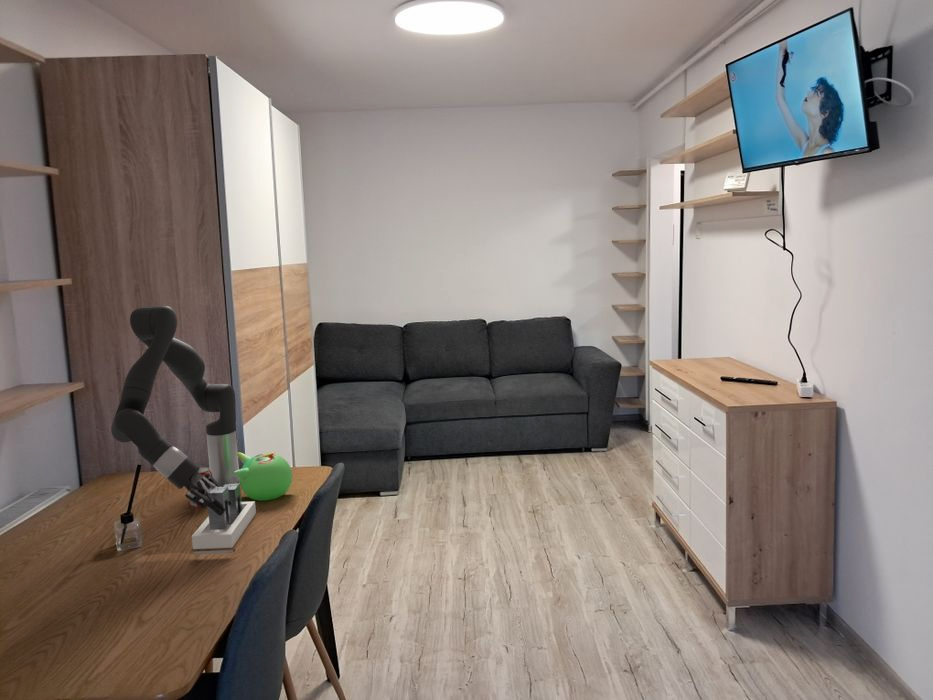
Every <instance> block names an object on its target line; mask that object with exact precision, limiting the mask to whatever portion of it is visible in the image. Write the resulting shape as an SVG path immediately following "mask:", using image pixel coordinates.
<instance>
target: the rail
mask: <svg viewBox="0 0 933 700" xmlns="http://www.w3.org/2000/svg"><path fill="white" fill-rule="evenodd" d="M241 503H242V512H241V513H240V514H239V516H238V517H237V518H236V520H235V521H234V522H233V524H227V528H226V529H222V530H210V524H209V515H208V516H207V517H206V519H204V521H203V522H202V524H201V525H199V527H198V528H196V531H195V532H194V533H193V534H192V535H191V545H192V550H197V551H193V552H192V555H194V554H195V555H216V554H233V553H234V551H235V549H229V548H233V547H234V546H235V545H236V543H237V541H238V540H239V539H240V537H241V536H242V534H243V533H244V532H245V530H246V528H247V527H248V525H249V524H250V523H251V521H252V520H253V518H254V517H255V515H256V514H257V510H256V509H257V508H256V500H253V501H241ZM208 549H219V550H208ZM222 549H223V550H222ZM224 549H225V550H224ZM198 550H199V551H198ZM195 555H194V556H195Z"/></svg>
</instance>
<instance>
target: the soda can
mask: <svg viewBox="0 0 933 700" xmlns="http://www.w3.org/2000/svg"><path fill="white" fill-rule="evenodd" d="M199 467H200V469H199V471H198V473H199V474H201V475H203V476H205V475H206V474H207V473H208V474H210V475H211V476H212V473H211V471H210V468H209V466H199ZM201 503H202V502H201ZM189 505H190V506H191V507H192V508H201V507H200V506H199V505H197V504H196V503H194V502H193V501H191V500H190V499H189Z"/></svg>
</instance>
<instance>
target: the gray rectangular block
mask: <svg viewBox="0 0 933 700" xmlns="http://www.w3.org/2000/svg"><path fill="white" fill-rule="evenodd" d="M227 486H228V494H229V499H230V500H231V501H232V503H231V504H230V518H231V523H230V524H233V522H234V521H235V520H236V518H237V517H238V516H239V514H240V513H241V512H242V503H241V502H242V493H241V486H240V482H238V483H236V484H225V485H224V486H222V487H227Z"/></svg>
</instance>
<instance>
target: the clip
mask: <svg viewBox="0 0 933 700" xmlns="http://www.w3.org/2000/svg"><path fill="white" fill-rule="evenodd" d="M210 492H211V493H209V495H210V496H212V497H213V498H214V500H216V501H217V502H218V503H219V504H220V505H222V506H223V507H224V508H225V509H226V510H225V512H224V513H223V514H222V515H221V516H219V515H218V514H217V513H216V512H214V511H213V510H212V509H211V508H210V507H207V509H208V510H207V511H208V516H209V524H210V530H222V529H226V528H227V524H230V523H231V518H230V506H229V494H228V486H227V487H223V486H221V487H216V486H215V488H211V490H210ZM207 498H208V497H207Z"/></svg>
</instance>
